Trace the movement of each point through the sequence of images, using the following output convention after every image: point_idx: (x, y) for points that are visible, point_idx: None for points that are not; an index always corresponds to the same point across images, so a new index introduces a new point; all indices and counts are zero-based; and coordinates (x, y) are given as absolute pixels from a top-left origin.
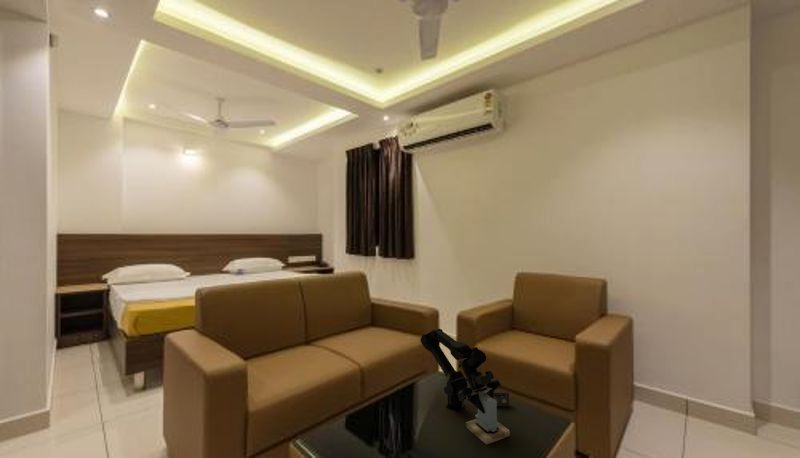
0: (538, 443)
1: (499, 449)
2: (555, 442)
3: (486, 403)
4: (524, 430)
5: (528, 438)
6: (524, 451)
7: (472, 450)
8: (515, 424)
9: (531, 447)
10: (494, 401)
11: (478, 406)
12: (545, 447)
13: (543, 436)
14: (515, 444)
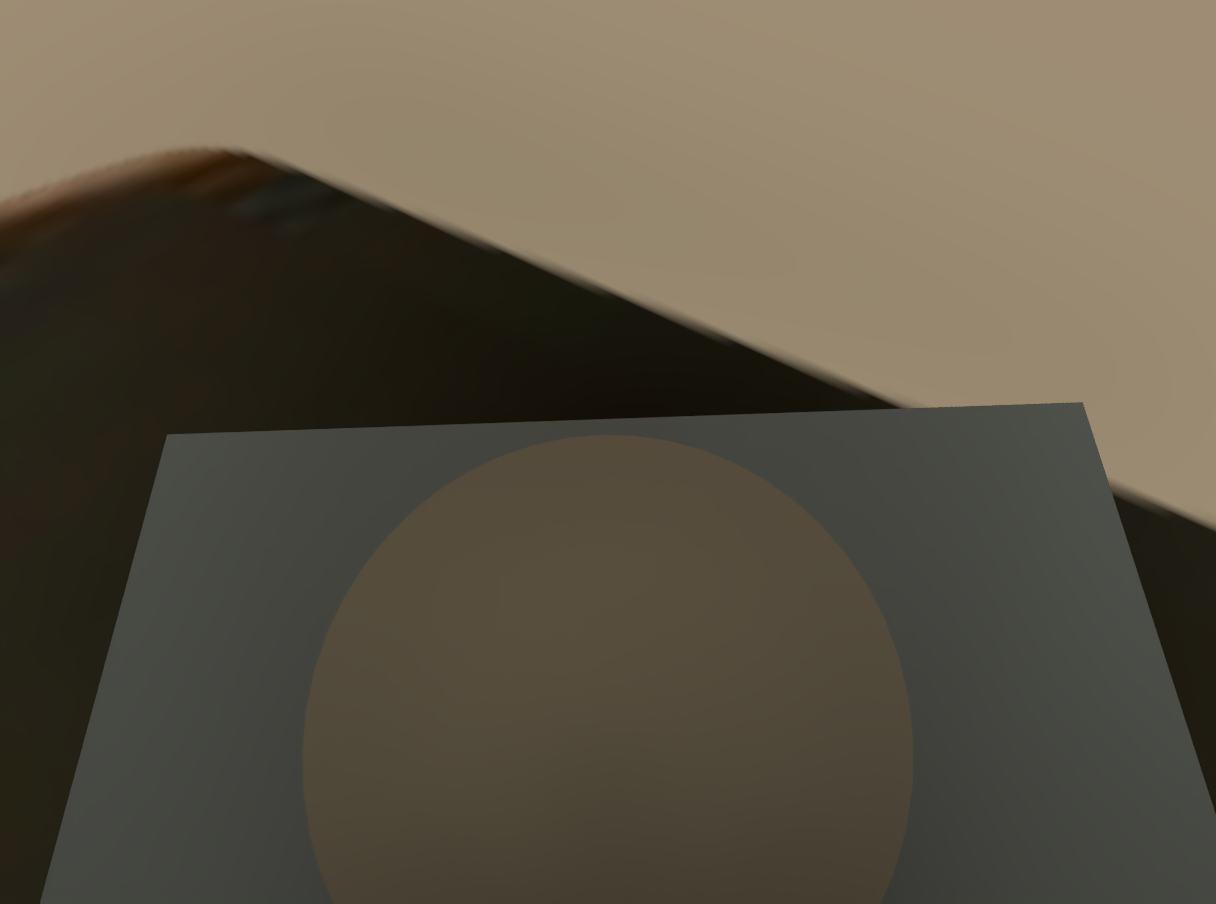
0: (205, 279)
1: (768, 392)
2: (26, 218)
3: (1109, 524)
4: (69, 567)
5: (211, 399)
6: (489, 243)
7: (1208, 545)
8: (11, 786)
9: (349, 260)
10: (324, 475)
11: None
12: (210, 202)
13: (9, 348)
14: (480, 380)
